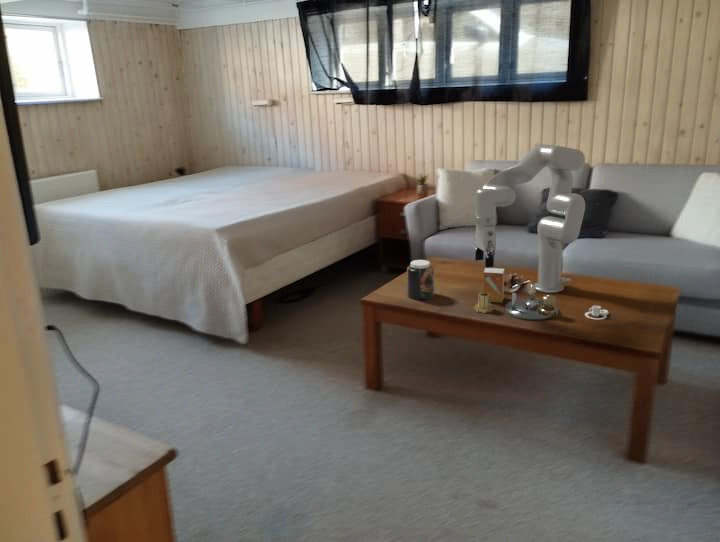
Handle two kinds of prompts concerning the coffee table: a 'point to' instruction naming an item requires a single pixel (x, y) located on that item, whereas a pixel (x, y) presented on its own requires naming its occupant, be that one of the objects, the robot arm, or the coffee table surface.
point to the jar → (420, 280)
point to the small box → (494, 284)
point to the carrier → (532, 307)
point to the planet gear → (483, 303)
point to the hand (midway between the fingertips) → (484, 263)
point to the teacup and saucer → (597, 312)
